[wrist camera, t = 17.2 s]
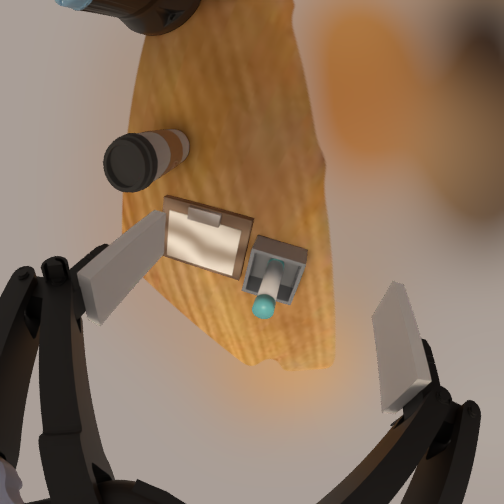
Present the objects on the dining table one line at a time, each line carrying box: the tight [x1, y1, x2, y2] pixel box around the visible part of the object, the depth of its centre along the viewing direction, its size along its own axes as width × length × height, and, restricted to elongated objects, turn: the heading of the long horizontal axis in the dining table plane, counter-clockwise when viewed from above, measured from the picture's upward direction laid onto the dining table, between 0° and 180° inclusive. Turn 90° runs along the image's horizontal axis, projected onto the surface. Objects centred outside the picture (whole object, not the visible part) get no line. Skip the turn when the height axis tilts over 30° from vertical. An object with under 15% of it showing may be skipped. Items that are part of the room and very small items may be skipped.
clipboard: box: [162, 195, 254, 280], centre depth 52 cm, size 13×17×2 cm
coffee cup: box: [103, 129, 189, 193], centre depth 39 cm, size 8×8×15 cm
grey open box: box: [242, 235, 308, 305], centre depth 50 cm, size 9×9×5 cm
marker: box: [252, 258, 284, 319], centre depth 46 cm, size 3×3×13 cm
